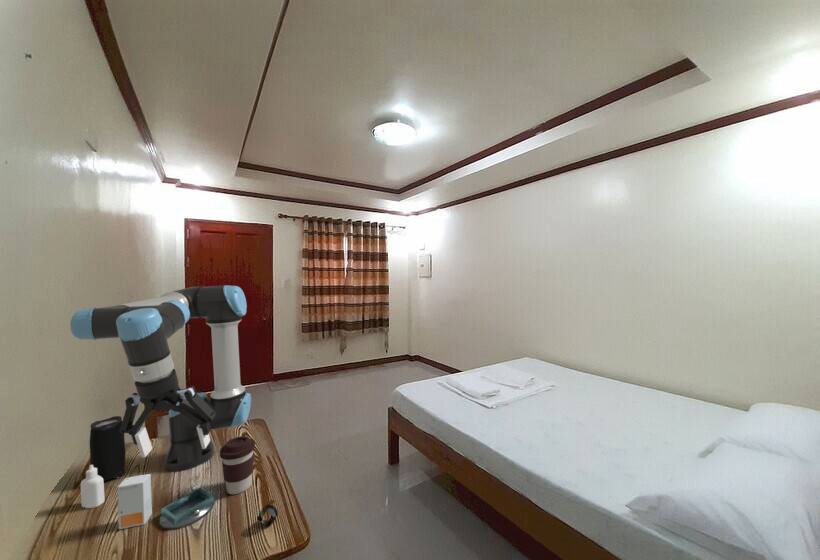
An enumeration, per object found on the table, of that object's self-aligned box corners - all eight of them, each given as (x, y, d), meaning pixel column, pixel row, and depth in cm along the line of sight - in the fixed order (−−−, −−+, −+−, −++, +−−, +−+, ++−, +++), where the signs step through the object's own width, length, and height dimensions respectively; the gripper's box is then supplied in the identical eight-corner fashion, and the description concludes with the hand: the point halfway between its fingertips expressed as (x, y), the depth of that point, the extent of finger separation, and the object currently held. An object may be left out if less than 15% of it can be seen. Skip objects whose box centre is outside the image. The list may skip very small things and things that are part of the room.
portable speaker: (123, 466, 114) (121, 412, 113) (128, 476, 108) (125, 420, 107) (89, 478, 107) (87, 421, 107) (93, 489, 101) (90, 430, 101)
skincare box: (118, 530, 84) (116, 487, 84) (127, 518, 89) (125, 477, 88) (145, 525, 86) (143, 482, 86) (152, 513, 90) (151, 472, 90)
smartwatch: (279, 524, 85) (278, 506, 85) (259, 534, 82) (258, 515, 82) (274, 515, 88) (274, 497, 88) (255, 524, 85) (254, 506, 85)
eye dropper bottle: (100, 496, 98) (98, 458, 98) (105, 503, 95) (103, 464, 95) (80, 505, 94) (78, 466, 94) (85, 512, 91) (83, 472, 91)
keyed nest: (151, 518, 88) (150, 509, 88) (201, 490, 100) (200, 482, 100) (172, 537, 82) (172, 527, 82) (223, 504, 93) (223, 496, 93)
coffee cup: (241, 500, 95) (239, 451, 94) (213, 496, 97) (211, 448, 96) (263, 478, 104) (261, 434, 104) (237, 475, 106) (235, 432, 106)
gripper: (80, 391, 67) (110, 469, 73) (205, 377, 71) (224, 452, 76) (107, 372, 74) (132, 444, 80) (219, 360, 78) (235, 430, 84)
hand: (177, 448), depth 78 cm, fingers open, 13 cm apart
